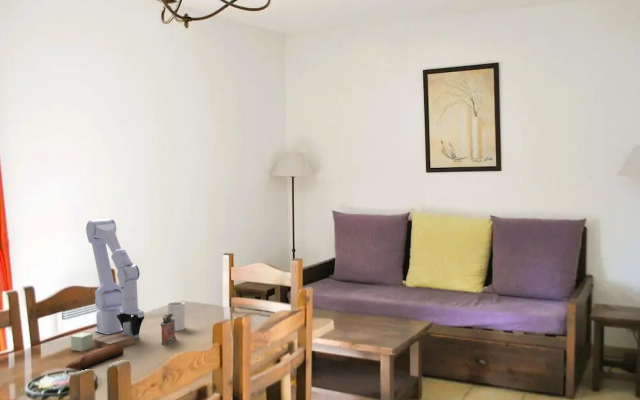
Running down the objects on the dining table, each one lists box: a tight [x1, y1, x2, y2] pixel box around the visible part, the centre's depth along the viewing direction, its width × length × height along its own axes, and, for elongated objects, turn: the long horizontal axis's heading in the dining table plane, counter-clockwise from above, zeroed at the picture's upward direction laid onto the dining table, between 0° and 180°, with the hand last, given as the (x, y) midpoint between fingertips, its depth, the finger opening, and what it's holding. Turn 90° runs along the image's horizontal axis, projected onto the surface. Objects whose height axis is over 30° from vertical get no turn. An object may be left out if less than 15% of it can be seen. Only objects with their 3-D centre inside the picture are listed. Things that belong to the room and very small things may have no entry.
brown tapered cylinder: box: [65, 345, 125, 371], centre depth 205 cm, size 18×7×7 cm
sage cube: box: [70, 332, 94, 352], centre depth 219 cm, size 5×5×5 cm
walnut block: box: [93, 332, 135, 349], centre depth 223 cm, size 10×10×3 cm
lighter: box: [160, 313, 177, 346], centre depth 225 cm, size 8×3×10 cm, turn 168°
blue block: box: [122, 321, 140, 340], centre depth 231 cm, size 4×4×6 cm
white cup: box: [166, 301, 186, 332], centre depth 243 cm, size 7×7×10 cm
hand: (131, 333), depth 231 cm, fingers open, 6 cm apart
